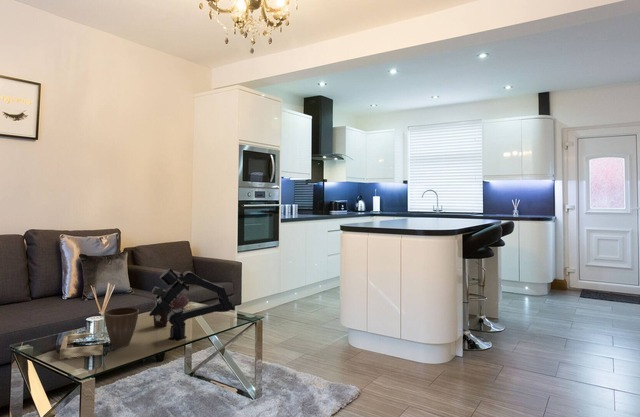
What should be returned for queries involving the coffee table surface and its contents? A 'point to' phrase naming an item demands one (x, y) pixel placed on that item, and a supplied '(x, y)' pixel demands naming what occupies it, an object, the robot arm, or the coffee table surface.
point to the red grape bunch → (179, 302)
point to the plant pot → (121, 325)
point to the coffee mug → (161, 319)
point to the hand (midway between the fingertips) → (149, 315)
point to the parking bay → (78, 351)
